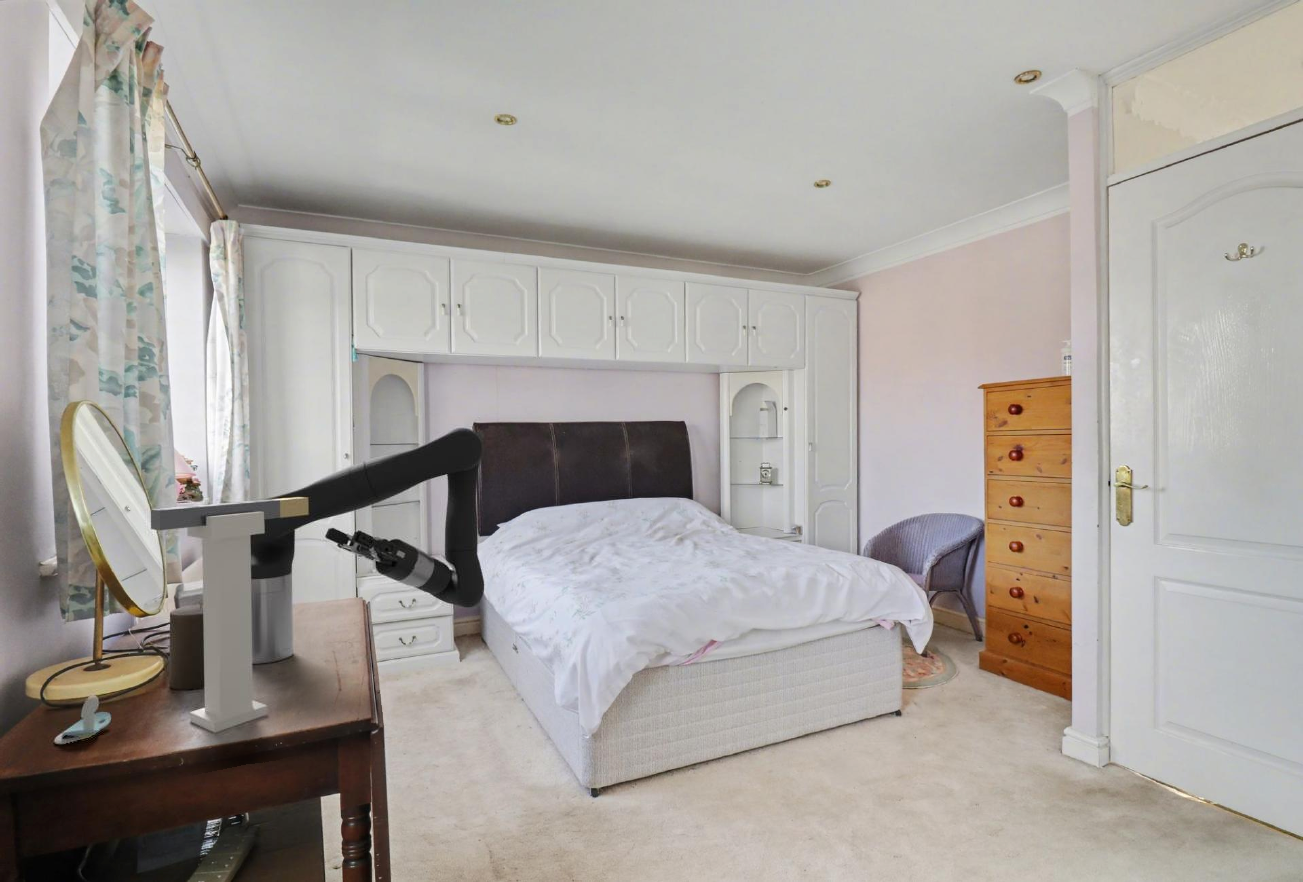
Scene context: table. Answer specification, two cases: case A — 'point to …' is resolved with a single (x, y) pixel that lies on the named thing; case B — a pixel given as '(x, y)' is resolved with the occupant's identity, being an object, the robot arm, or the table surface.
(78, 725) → the pacifier
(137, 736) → the table surface
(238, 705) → the stand
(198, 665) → the pillar candle
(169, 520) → the bar
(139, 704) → the table surface
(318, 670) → the table surface
